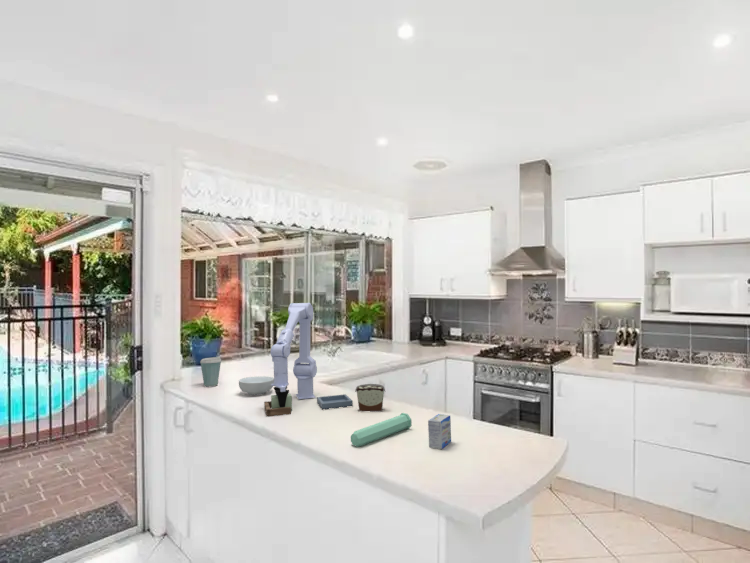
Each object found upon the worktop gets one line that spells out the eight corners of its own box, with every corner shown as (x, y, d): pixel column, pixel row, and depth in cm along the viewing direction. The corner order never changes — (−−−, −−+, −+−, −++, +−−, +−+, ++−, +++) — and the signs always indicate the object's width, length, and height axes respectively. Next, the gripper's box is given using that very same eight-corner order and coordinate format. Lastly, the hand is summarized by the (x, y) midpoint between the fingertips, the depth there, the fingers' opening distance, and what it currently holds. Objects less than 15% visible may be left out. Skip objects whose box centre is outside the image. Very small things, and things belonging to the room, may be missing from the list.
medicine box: (441, 450, 136) (440, 421, 137) (428, 447, 139) (427, 419, 139) (451, 442, 143) (450, 415, 143) (438, 439, 145) (438, 413, 146)
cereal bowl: (269, 397, 208) (269, 382, 208) (234, 398, 208) (233, 383, 208) (278, 389, 225) (277, 375, 225) (245, 389, 225) (245, 375, 225)
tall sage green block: (271, 409, 186) (271, 395, 186) (290, 407, 189) (290, 393, 189) (272, 412, 182) (272, 397, 182) (292, 410, 184) (291, 395, 184)
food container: (386, 407, 186) (386, 383, 186) (385, 411, 180) (385, 386, 180) (357, 407, 187) (357, 383, 187) (355, 411, 181) (355, 386, 181)
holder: (264, 407, 190) (264, 401, 190) (286, 405, 193) (286, 399, 193) (266, 416, 177) (266, 410, 177) (291, 413, 179) (290, 407, 179)
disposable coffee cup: (196, 387, 232) (195, 359, 232) (207, 383, 242) (206, 355, 243) (215, 388, 230) (214, 359, 230) (225, 383, 241) (225, 355, 241)
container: (356, 429, 140) (408, 411, 157) (345, 432, 144) (397, 414, 161) (361, 448, 138) (414, 427, 156) (350, 451, 142) (402, 430, 160)
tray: (317, 402, 196) (316, 397, 196) (345, 399, 200) (345, 394, 200) (322, 409, 184) (322, 403, 184) (352, 406, 188) (352, 400, 188)
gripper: (269, 370, 191) (270, 402, 191) (272, 376, 177) (273, 410, 177) (286, 369, 193) (286, 400, 193) (290, 375, 179) (291, 409, 179)
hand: (281, 405), depth 185 cm, fingers closed on tall sage green block, 4 cm apart
